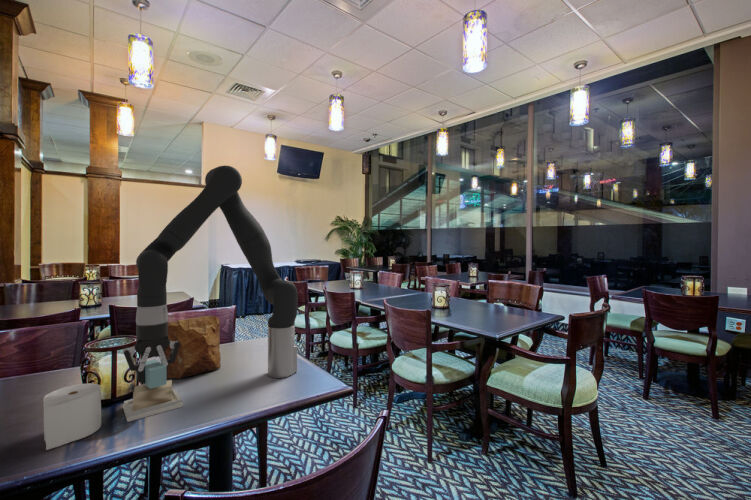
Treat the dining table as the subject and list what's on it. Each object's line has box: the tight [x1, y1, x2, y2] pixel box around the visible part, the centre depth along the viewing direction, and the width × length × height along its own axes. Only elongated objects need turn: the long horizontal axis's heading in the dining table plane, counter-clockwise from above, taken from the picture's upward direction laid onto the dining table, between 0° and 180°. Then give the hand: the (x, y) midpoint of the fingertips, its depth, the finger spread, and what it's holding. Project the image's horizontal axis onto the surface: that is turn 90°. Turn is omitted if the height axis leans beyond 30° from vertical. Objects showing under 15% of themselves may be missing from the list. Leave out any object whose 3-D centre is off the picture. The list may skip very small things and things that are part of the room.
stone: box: [164, 315, 222, 380], centre depth 123 cm, size 19×11×20 cm, turn 122°
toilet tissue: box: [42, 382, 102, 451], centre depth 85 cm, size 11×12×10 cm
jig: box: [122, 388, 184, 423], centre depth 98 cm, size 13×10×2 cm
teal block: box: [143, 359, 168, 389], centre depth 98 cm, size 4×9×5 cm, turn 50°
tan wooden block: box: [132, 379, 173, 411], centre depth 98 cm, size 9×5×5 cm, turn 120°
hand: (152, 380), depth 98 cm, fingers closed on teal block, 4 cm apart
